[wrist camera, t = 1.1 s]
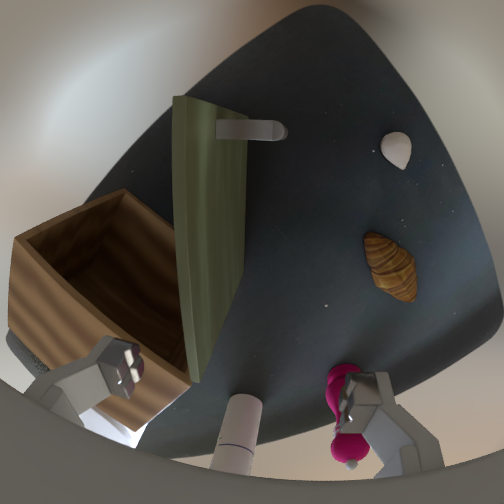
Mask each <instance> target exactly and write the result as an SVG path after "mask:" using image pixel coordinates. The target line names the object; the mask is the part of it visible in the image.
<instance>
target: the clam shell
mask: <svg viewBox="0 0 504 504" xmlns="http://www.w3.org/2000/svg"><path fill="white" fill-rule="evenodd" d="M380 148H381V151H382V153H383V155H384V156H385V157H386V158H387V159H388V160H389V161H390V162H391V163H392V164H394V165H395V166H397V167H399V168H400V169H403V170H404V169H405V167H406V165H407V163H408V161H409V158H410V154H411V142H410V140H409V137H408V136H407V135H405V134H403V133H401V132H392V133H389V134H387V135H385V136H384V137H383V139H382V140H381V144H380Z"/></svg>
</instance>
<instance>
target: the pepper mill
mask: <svg viewBox="0 0 504 504" xmlns="http://www.w3.org/2000/svg"><path fill="white" fill-rule="evenodd" d="M348 372H361V371H360V369H359V368H358V367H357V366H355V365H353V364H342V365H338V366H336V367H334V368H333V369H332V370H331V371H330V372H329V374H328V387H327V389H326V399H327V402H328V404H329V406H330V408H331V409H332V410H333V412H334V413H335V416H336V421H337V424H336V426H335V428H334V438H335V439H334V440H333V441H332V443H331V453H332V455H333V457H334V458H335V459H336V460H337V461H339V462H342V463H346V464H345V465H346V468H347V469H349V470H353V469H355V468H356V467H357V465H358V462H357V461H359V460H361V459H363V458H364V457H365V456H366V455H367V453H368V452H369V449H370V445H369V444H368V442H367V441H366V439H365V438H364V437H363V435H362V433H340V420H339V419H340V417H341V414H342V413H341V412H340V410H339V395H340V391H341V388H342V386H343V385H345V377H346V374H347V373H348Z"/></svg>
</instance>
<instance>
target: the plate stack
mask: <svg viewBox="0 0 504 504" xmlns="http://www.w3.org/2000/svg"><path fill="white" fill-rule="evenodd" d="M79 417H80V419H81V420H82V422H83V423H84V428H86V429H88V430H90V431H93V432H95V433H97V434H99V435H102V436H104V437H107V438H109V439H111V440H114V441H116V442H119V443H122V444H124V445H127V446H130V447H133V448H135V447H136V445H137V443H138V441H139V439H140V437H141V435H142V433H143V431H144V429H145V427H146V425H147V424H145V425H144V426H143V427H142V428H140V429H139V430H138V431H137V432H134V431H132V430H130V429H129V428H127V427H126V426H124V425H123V424H121V423H120V422H118V421H117V420H115V419H114V418H112V417H111V416H109V415H108V414H106V413H105V412H103V411H102V410H101V409H99V408H98V407H97V406H93V407H91V408H90V409H88V410H87V411H85V412H83V413H82V414H80V415H79Z"/></svg>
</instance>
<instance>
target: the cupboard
mask: <svg viewBox="0 0 504 504" xmlns="http://www.w3.org/2000/svg"><path fill="white" fill-rule="evenodd" d="M8 327H9V328H10V329H11V330H12V331H13V332H14V334H15V335H16V336H17V337H18V338H19V339H20V340H21V341H22V342H23V343H24V344H25V345H26V346H27V347H28V348H29V349H30V350H31V351H32V352H33V353H34V354H35V355H36V356H37V357H38V358H39V359H40V360H41V361H42V362H43V363H44V364H45V365H47V366H48V367H49V368H50V369H51V370H54V369H56V368H58V367H61V366H63V365H66V364H68V363H71V362H73V361H75V360H78V359H80V358H84V359H85V358H86V356H87V355H88V354H89V353H90V351H91V350H92V349H93V348H94V347H95V345H96V344H97V343H98V342H99V341H100V339H101V338H102V337H103V336H105V335H109V336H112V337H115V338H120V339H123V340H127V341H130V342H134V343H137V344H139V346H140V350H141V351H140V353H139V355H140V356H141V357H142V358H143V361H144V372H143V375H142V377H141V379H140V380H139V381H137V382H136V383H134V384H135V389H134V391H133V393H132V395H131V396H130V398H129V399H125V398H122V397H119V396H116V395H113V394H111V395H110V396H109V397H107V398H106V399H104V400H103V401H101V402H99V403H98V404H96V405H95V406H97V407H98V408H99V409H101V410H102V411H103V412H105V413H106V414H108V415H109V416H111V417H112V418H114V419H115V420H117V421H118V422H120V423H121V424H123V425H124V426H126V427H127V428H129V429H130V430H132V431H134V432H137V431H138V430H139V429H140V428H142V427H143V426H144V425H145V424H147V423H148V422H149V421H150V420H151V419H153V418H154V417H155V416H156V415H158V414H159V413H160V412H161V411H162V410H164V409H165V408H166V407H167V406H168V405H170V404H171V403H172V402H173V401H174V400H176V399H177V398H178V397H179V396H180V395H181V394H183V393H184V392H185V391H186V390H187V389H188V388H190V387H191V385H192V381H190V375H189V368H188V362H187V355H186V347H185V340H184V332H183V324H182V315H181V306H180V296H179V286H178V275H177V263H176V249H175V234H174V227H173V226H172V225H171V224H170V223H168V222H167V221H166V220H164V219H163V218H162V217H161V216H159V215H158V214H157V213H155V212H154V211H153V210H152V209H150V208H149V207H148V206H147V205H145V204H144V203H143V202H141V201H140V200H139V199H138V198H136V197H135V196H134V195H133V194H131V193H130V192H129V191H128V190H126V189H125V188H123V189H120V190H118V191H115V192H112V193H110V194H107V195H105V196H102V197H100V198H98V199H95V200H93V201H90V202H88V203H86V204H83V205H81V206H79V207H76V208H74V209H72V210H70V211H67V212H65V213H63V214H61V215H59V216H56V217H54V218H52V219H50V220H48V221H46V222H44V223H42V224H40V225H38V226H36V227H34V228H32V229H30V230H28V231H26V232H24V233H22V234H20V235H18V236H16V237H15V238H14V243H13V250H12V258H11V267H10V278H9V296H8Z"/></svg>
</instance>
